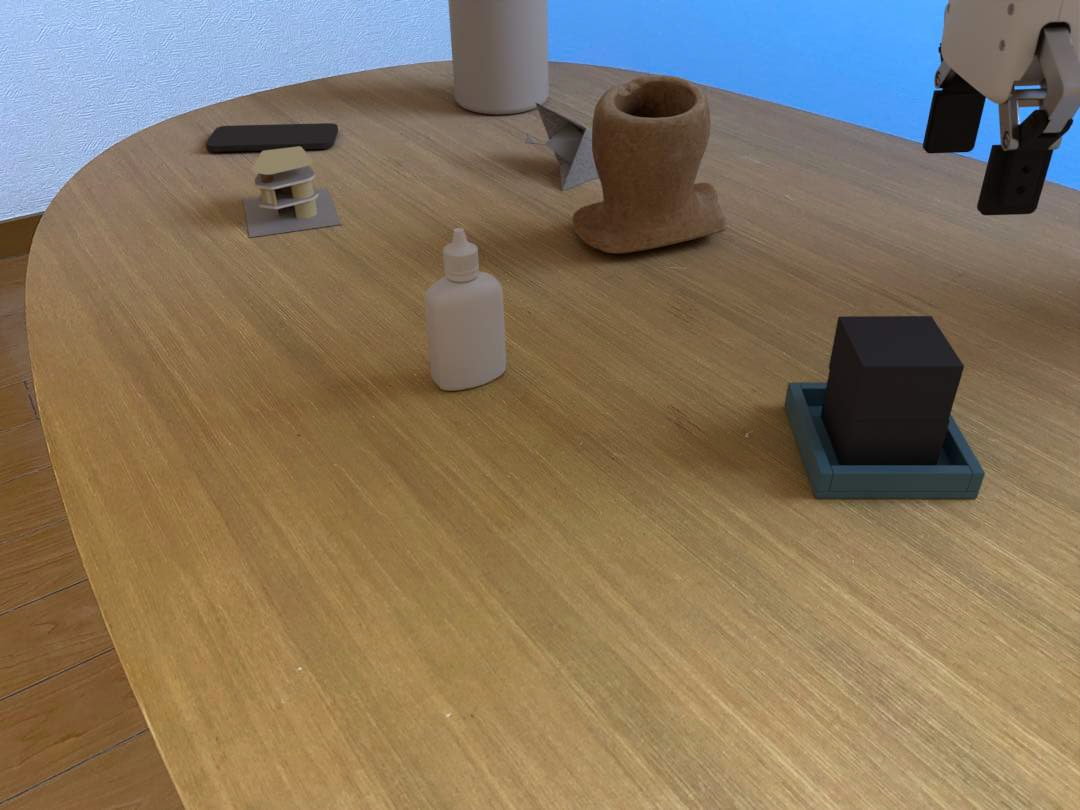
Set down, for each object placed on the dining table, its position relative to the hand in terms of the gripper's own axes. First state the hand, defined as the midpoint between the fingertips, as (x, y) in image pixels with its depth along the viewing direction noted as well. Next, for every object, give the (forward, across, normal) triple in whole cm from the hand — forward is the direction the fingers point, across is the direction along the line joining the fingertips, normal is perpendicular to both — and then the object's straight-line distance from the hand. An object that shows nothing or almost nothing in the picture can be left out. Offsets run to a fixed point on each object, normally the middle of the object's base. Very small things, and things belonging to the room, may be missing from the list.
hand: (974, 179), depth 58 cm
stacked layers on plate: (+16, +34, +54) cm, 66 cm away
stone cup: (+17, +27, +17) cm, 36 cm away
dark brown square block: (+16, -6, +5) cm, 18 cm away
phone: (+16, +56, +61) cm, 84 cm away
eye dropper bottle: (+16, +3, +33) cm, 37 cm away
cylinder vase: (+17, +70, +34) cm, 80 cm away
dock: (+16, -6, +5) cm, 18 cm away
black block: (+12, -6, +5) cm, 14 cm away
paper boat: (+17, +45, +26) cm, 55 cm away
